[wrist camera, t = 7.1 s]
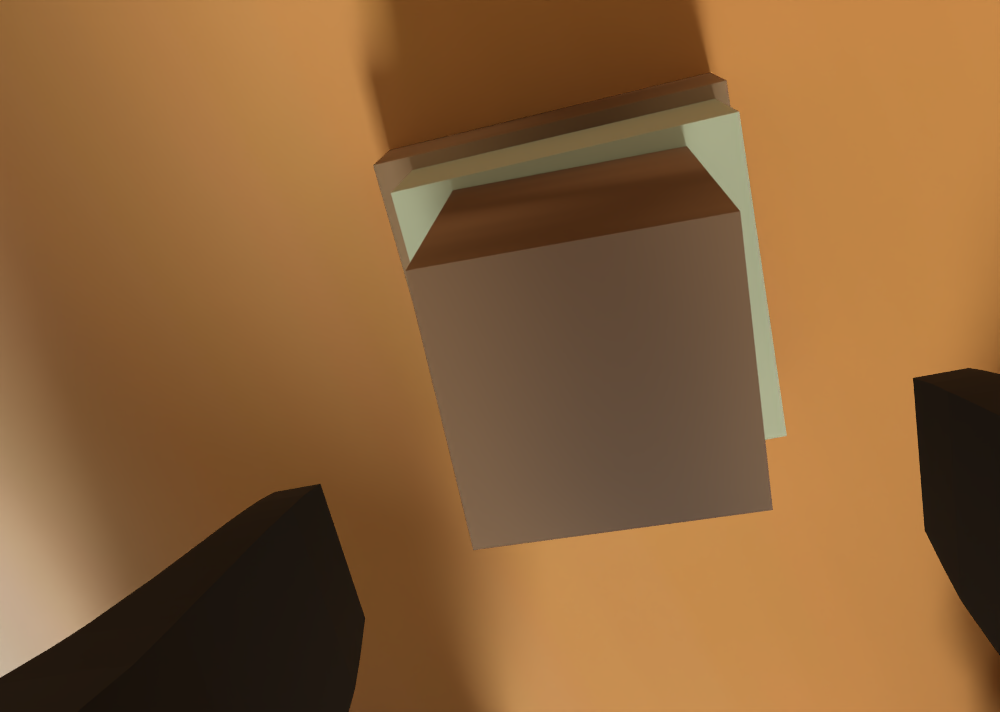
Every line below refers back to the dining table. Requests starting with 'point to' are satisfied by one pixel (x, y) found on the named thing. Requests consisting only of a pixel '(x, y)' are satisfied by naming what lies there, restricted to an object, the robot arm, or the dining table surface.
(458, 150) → the slab bottom
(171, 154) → the dining table surface
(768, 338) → the slab top
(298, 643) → the robot arm
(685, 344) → the walnut block
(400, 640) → the dining table surface
